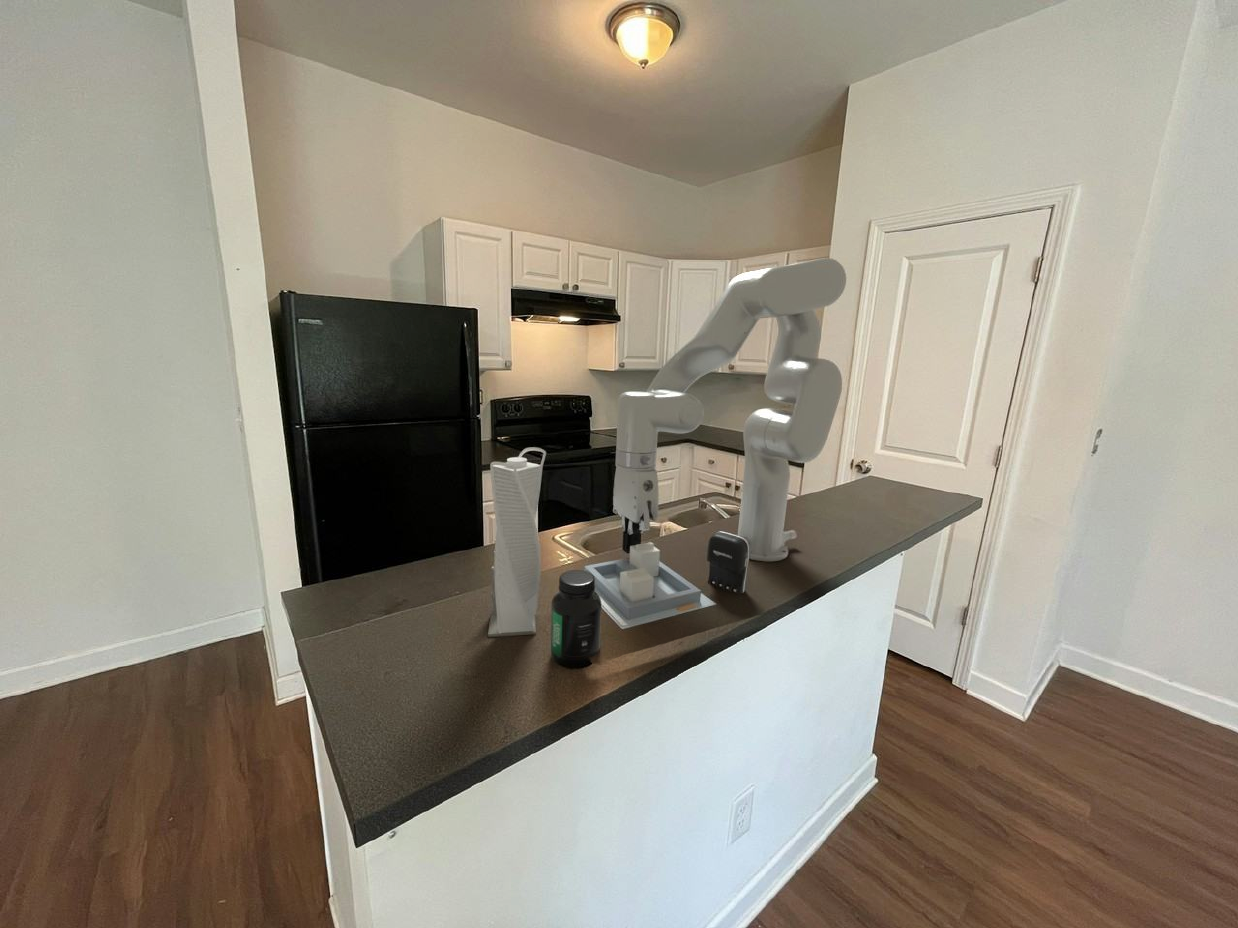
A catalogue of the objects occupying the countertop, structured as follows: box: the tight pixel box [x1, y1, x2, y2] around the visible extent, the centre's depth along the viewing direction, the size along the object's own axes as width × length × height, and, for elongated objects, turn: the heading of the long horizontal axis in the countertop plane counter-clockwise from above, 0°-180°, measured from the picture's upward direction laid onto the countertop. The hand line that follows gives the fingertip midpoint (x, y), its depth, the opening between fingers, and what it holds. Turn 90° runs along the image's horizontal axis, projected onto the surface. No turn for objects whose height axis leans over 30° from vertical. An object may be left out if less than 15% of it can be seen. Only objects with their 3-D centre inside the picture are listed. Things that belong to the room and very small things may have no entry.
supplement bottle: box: [550, 569, 602, 670], centre depth 67 cm, size 7×7×12 cm
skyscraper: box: [487, 446, 547, 638], centre depth 72 cm, size 8×8×28 cm
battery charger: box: [706, 531, 750, 595], centre depth 86 cm, size 7×4×11 cm, turn 50°
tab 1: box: [629, 541, 661, 577], centre depth 90 cm, size 4×4×6 cm
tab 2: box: [619, 568, 654, 603], centre depth 79 cm, size 4×4×6 cm
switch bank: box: [583, 557, 717, 630], centre depth 85 cm, size 18×20×4 cm
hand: (631, 550), depth 94 cm, fingers closed
